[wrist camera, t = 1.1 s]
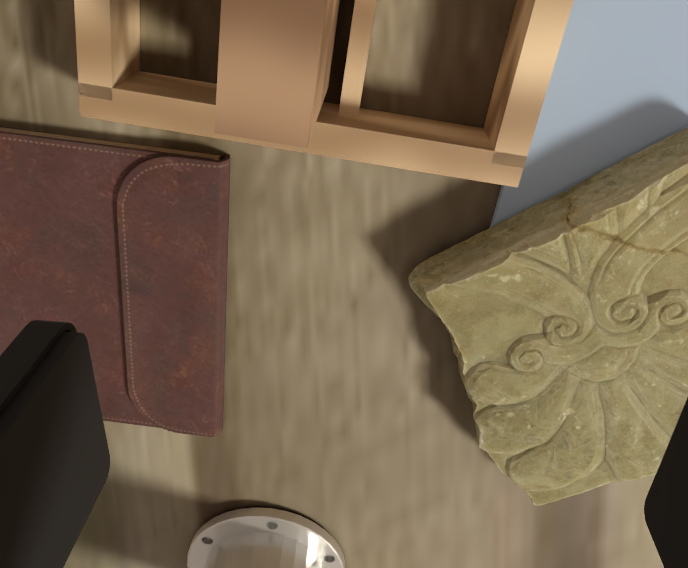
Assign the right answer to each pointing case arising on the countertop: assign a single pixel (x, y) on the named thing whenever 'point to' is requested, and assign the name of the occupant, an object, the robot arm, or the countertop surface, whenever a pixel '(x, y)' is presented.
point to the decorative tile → (575, 326)
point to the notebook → (122, 268)
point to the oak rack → (347, 117)
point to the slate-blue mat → (605, 95)
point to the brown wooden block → (274, 68)
